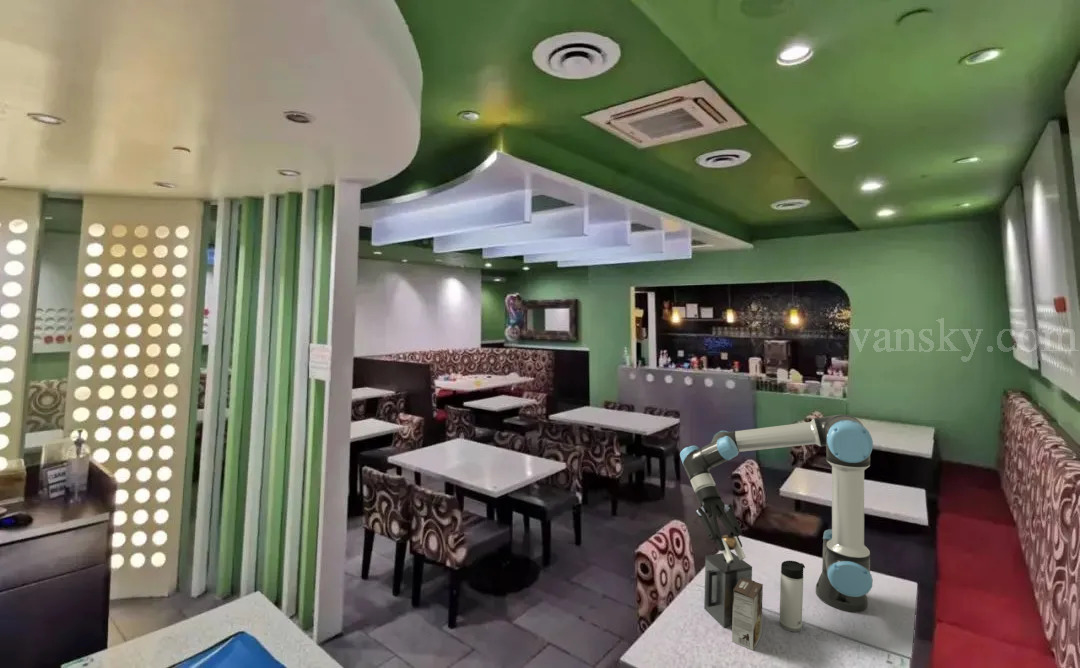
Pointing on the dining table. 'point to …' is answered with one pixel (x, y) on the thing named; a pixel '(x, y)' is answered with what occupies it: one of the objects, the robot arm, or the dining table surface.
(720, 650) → the dining table surface
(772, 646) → the dining table surface
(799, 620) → the travel mug
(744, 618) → the coffee box
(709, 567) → the press pot
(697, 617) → the dining table surface
